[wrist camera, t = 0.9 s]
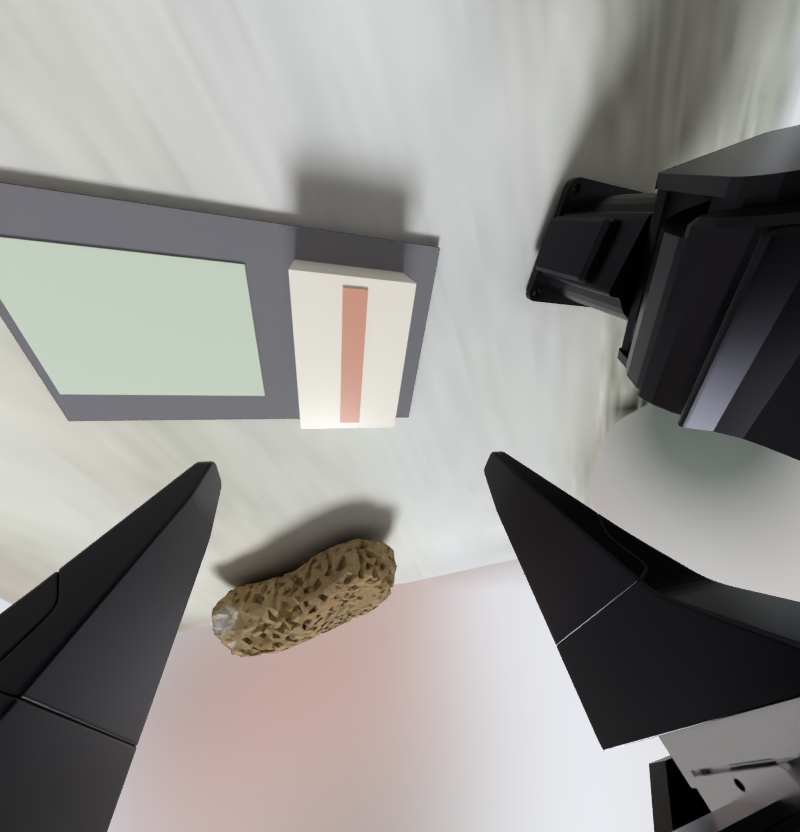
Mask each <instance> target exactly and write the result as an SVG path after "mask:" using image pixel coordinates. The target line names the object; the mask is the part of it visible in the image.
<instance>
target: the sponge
mask: <svg viewBox="0 0 800 832" xmlns="http://www.w3.org/2000/svg"><path fill="white" fill-rule="evenodd" d="M396 567H397V566H396V563H395V560H394V551H393V550H392V549H391V548H390V547H389V546H388V545H386V544H384V543H383V542H381V541H380V542H379V541H377V540H371V539H370V540H363V539H354V540H350V541H347V542H344V543H341V544H337V545H335V546H332V547H330V548H329V549H327V550H326V551H325V552H324V551H322V552H320V553H318V554H317V555H315V556H313V557H312V558H311V559H310V560H309V561H308V562H306V563H304V564H303V565H302V566H301V567H299V568H298V569H297V570H295V571H293V572H290V573H286V574H284V576H282V577H274V578H272V579H269V580H266V581H262V582H258V583H252V584H244V585H241V586H239V587H237V588H236V589H234V590H231V591H229V592H228V594H227V595H226V596H225V597H224V598H222V599H221V600H220V601H219V602H218V603H217V604H216V606H215V607H214V608H213V611H212V622H213V631H214V634H215V635H216V636H217V637H218V638H219V639H220V640H221V642H222V643H223V644H224V645H225V646H226V647H228V648H229V649H231V653H232V655H238V656H241V657H249V656H257V655H261V654H263V653H267V654H268V653H276V652H279V651H283V650H285V649H288V648H290V647H292V646H295V645H297V644H300V643H302V642H305V641H307V640H310V639H312V638H314V637H316V636H318V635H320V634H321V633H325V632H327V631H329V630H331V629H333V628H336V627H337V626H340V625H341V624H343V623H345V622H348V621H350V620H351V619H352V618H353V617H354V618H358V616H361V615H364V614H367V613H368V612H370V611H372V610H373V609H375V608H376V607H378V605H379V604H380V603H381V602H383V601H384V600H386V599H387V597H388V596H389V595H390V594H391V590H390V588H391V587H393V584H394V575H395V571H396Z"/></svg>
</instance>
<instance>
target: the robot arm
mask: <svg viewBox="0 0 800 832" xmlns="http://www.w3.org/2000/svg"><path fill="white" fill-rule="evenodd" d="M574 185H575V186H576V189H575V192H574V193H572V189H573V187H574ZM655 189H658V191H657V193H642V192H638V191H634V190H630V189H626V188H622V187H618V186H614V185H609V184H605V183H601V182H597V181H593V180H589V179H585V178H581V177H580V178H572V179H571V180H569V181H568V182H567V184H566V185H565V187H564V190H563V193H562V196H561V198H560V201H559V204H558V207H557V209H556V212H555V215H554V218H553V220H552V221H551V224H550V227H549V230H548V232H547V235H546V238H545V241H544V243H543V246H542V249H541V252H540V255H539V257H538V260H537V263H536V267H535V270H534V273H533V275H532V278H531V281H530V284H529V286H528V289H527V293H526V296H527V298H528V299H530V300H532V301H538V302H547V303H557V304H566V305H575V306H585V307H592V308H595V309H597V310H600V311H603V312H605V313H608V314H611V315H614V316H616V317H619V318H622V319H625V320H627V321H628V322H627V327H626V331H625V336H624V340H623V344H622V347H621V348H620V349H619V352H618V359H619V360H620V361H621V362H622V364H623V365H624V366H625V367H626V368H627V376H628V377H629V379H630V380H631V381H632V383H633V384H634V385H635V386H636V387H637V388H638V391H637V394H638V396H640V397H641V398H643V399H644V400H646V401H648V402H649V403H651V404H653V405H655V406H657V407H659V408H662V409H664V410H666V411H669V412H671V413H675V414H678V415H681V416H680V418H679V420H678V425H679V426H682V427H686V428H693V429H701V430H708V431H715V432H718V433H722V434H727V435H730V436H735V437H738V438H742V439H745V440H748V441H751V442H754V443H756V444H759V445H763V446H765V447H767V448H770V449H772V450H775V451H777V452H780V453H783V454H785V455H788V456H790V457H792V458H795V459H798V460H800V125H797V126H793V127H788V128H783V129H779V130H774V131H770V132H766V133H763V134H760V135H758V136H755V137H752V138H750V139H747V140H744V141H742V142H739V143H736V144H734V145H731V146H728V147H726V148H723V149H720V150H717V151H715V152H712V153H709V154H707V155H704V156H701V157H699V158H696V159H693V160H691V161H688V162H685V163H683V164H680V165H677V166H675V167H672V168H669V169H667V170H664V171H661V172H659V174H658V178H657V182H656V187H655ZM535 290H537V291H536V294H535V295H533V292H534V291H535ZM484 472H485V476H486V479H487V483H488V486H489V489H490V492H491V495H492V498H493V501H494V504H495V507H496V510H497V512H498V515H499V517H500V519H501V522H502V524H503V526H504V528H505V531H506V533H507V535H508V537H509V540H510V542H511V544H512V546H513V549H514V551H515V553H516V555H517V558H518V560H519V562H520V565H521V567H522V569H523V571H524V574H525V575H526V578H527V580H528V583H529V585H530V587H531V589H532V591H533V594H534V596H535V598H536V601H537V603H538V605H539V607H540V610H541V612H542V614H543V616H544V619H545V621H546V623H547V625H548V628H549V630H550V632H551V634H552V637H553V639H554V641H555V644H556V645H557V648H558V651H559V653H560V655H561V657H562V660H563V662H564V664H565V666H566V669H567V671H568V673H569V675H570V678H571V680H572V682H573V684H574V687H575V689H576V691H577V694H578V696H579V698H580V700H581V702H582V705H583V707H584V709H585V712H586V714H587V716H588V718H589V721H590V723H591V725H592V727H593V730H594V732H595V734H596V736H597V738H598V741H599V743H600V744H601V747H602V748H603V750H604V751H605V750H609V749H612V748H616V747H620V746H623V745H627V744H631V743H634V742H638V741H641V740H645V739H649V738H653V737H656V736H659V738H660V739H661V741H662V742H663V744H664V746H665V747H666V749H667V750H668V752H669V754H670V756H667V757H665V758H662V759H660V760H657V761H655V762H652V763H650V764H649V769H650V782H651V795H652V808H653V820H654V831H655V832H800V602H797V601H793V600H788V599H784V598H780V597H776V596H771V595H767V594H762V593H758V592H753V591H750V590H745V589H741V588H736V587H732V586H728V585H725V584H722V583H718V582H716V581H713V580H710V579H708V578H706V577H704V576H702V575H700V574H698V573H696V572H694V571H692V570H691V569H689V568H687V567H685V566H684V565H682V564H680V563H679V562H677V561H675V560H673V559H672V558H670V557H668V556H667V555H665V554H663V553H661V552H659V551H658V550H656V549H655V548H653V547H651V546H649V545H648V544H646V543H644V542H643V541H641V540H639V539H638V538H636V537H634V536H633V535H631V534H629V533H628V532H626V531H624V530H623V529H621V528H620V527H618V526H617V525H615V524H613V523H612V522H610V521H609V520H607V519H606V518H604V517H603V516H601V515H600V514H597V513H596V512H595V511H593V510H592V509H590V508H589V507H587V506H586V505H584V504H583V503H581V502H580V501H578V500H577V499H575V498H574V497H572V496H570V495H569V494H567V493H566V492H564V491H563V490H561V489H560V488H558V487H557V486H555V485H554V484H552V483H551V482H549V481H547V480H546V479H544V478H543V477H541V476H540V475H538V474H537V473H535V472H534V471H532V470H531V469H529V468H528V467H526V466H525V465H523V464H521V463H520V462H518V461H517V460H515V459H514V458H512V457H511V456H509V455H508V454H506V453H505V452H492V453H491V454H490V456H489V459H488V461H487V463H486V466H485V469H484ZM220 491H221V479H220V476H219V473H218V469H217V466H216V464H215V463H214V462H212V461H209V462H197V463H196V464H194V465H193V466H192V467H190V468H189V469H188V470H186V471H185V472H184V473H183V474H181V475H180V476H179V477H177V478H176V479H175V480H174V481H172V482H171V483H170V484H168V485H167V486H166V487H164V488H163V489H162V490H161V491H159V492H158V493H157V494H155V495H154V496H153V497H152V498H150V499H149V500H148V501H146V502H145V503H144V504H143V505H141V506H140V507H139V508H137V509H136V510H135V511H134V512H132V513H131V514H130V515H128V516H127V517H126V518H125V519H123V520H122V521H121V522H119V523H118V524H117V525H115V526H114V527H113V528H112V529H110V530H109V531H108V532H106V533H105V534H104V535H103V536H101V537H100V538H99V539H97V540H96V541H95V542H94V543H92V544H91V545H90V546H88V547H87V548H86V549H85V550H83V551H82V552H81V553H79V554H78V555H77V556H76V557H74V558H73V559H72V560H70V561H69V562H68V563H66V564H65V565H64V566H63V567H61V568H60V569H59V572H55V573H53V574H52V575H51V576H50V577H48V578H47V579H46V580H44V581H43V582H42V583H40V584H39V585H38V586H37V587H35V588H34V589H33V590H31V591H30V592H29V593H27V594H26V595H25V596H23V597H22V598H21V599H19V600H18V601H17V602H15V603H14V604H13V605H11V606H10V607H9V608H7V609H6V610H5V611H4V612H2V613H1V614H0V832H107V830H108V827H109V825H110V821H111V819H112V816H113V813H114V810H115V808H116V804H117V801H118V799H119V796H120V793H121V790H122V788H123V785H124V782H125V779H126V776H127V773H128V770H129V767H130V765H131V762H132V759H133V756H134V753H135V751H136V745H137V744H138V742H139V738H140V736H141V733H142V730H143V727H144V724H145V722H146V719H147V716H148V713H149V710H150V707H151V705H152V702H153V699H154V696H155V693H156V690H157V687H158V685H159V682H160V679H161V676H162V673H163V670H164V668H165V665H166V662H167V659H168V656H169V653H170V650H171V648H172V645H173V642H174V639H175V636H176V634H177V631H178V628H179V625H180V622H181V619H182V616H183V614H184V611H185V608H186V605H187V602H188V599H189V597H190V594H191V591H192V588H193V585H194V582H195V580H196V577H197V574H198V571H199V568H200V565H201V562H202V560H203V557H204V554H205V551H206V548H207V545H208V542H209V539H210V535H211V531H212V527H213V522H214V518H215V513H216V509H217V504H218V500H219V495H220Z"/></svg>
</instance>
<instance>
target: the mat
mask: <svg viewBox="0 0 800 832" xmlns="http://www.w3.org/2000/svg"><path fill="white" fill-rule="evenodd" d="M439 251H440V248H439V247H433V246H427V245H420V244H413V243H406V242H400V241H393V240H386V239H379V238H372V237H366V236H359V235H352V234H345V233H339V232H332V231H325V230H318V229H312V228H305V227H298V226H291V225H284V224H278V223H271V222H264V221H257V220H251V219H244V218H237V217H230V216H224V215H217V214H210V213H203V212H197V211H190V210H183V209H176V208H169V207H163V206H156V205H149V204H142V203H136V202H129V201H122V200H115V199H109V198H102V197H95V196H88V195H82V194H75V193H68V192H61V191H54V190H48V189H41V188H34V187H27V186H21V185H14V184H7V183H0V316H1V318H2V319H3V321H4V322H5V324H6V325H7V327H8V329H9V330H10V332H11V333H12V335H13V336H14V338H15V339H16V341H17V342H18V344H19V346H20V347H21V349H22V350H23V352H24V353H25V355H26V356H27V358H28V359H29V361H30V362H31V364H32V366H33V367H34V369H35V370H36V372H37V373H38V375H39V376H40V378H41V379H42V381H43V383H44V384H45V386H46V387H47V389H48V390H49V392H50V393H51V395H52V396H53V398H54V399H55V401H56V403H57V404H58V406H59V407H60V409H61V410H62V412H63V413H64V415H65V416H66V418H67V420H68V421H122V420H214V419H300V412H299V399H298V386H297V374H296V361H295V348H294V335H293V322H292V310H291V297H290V284H289V271H288V269H289V268H290V266H291V264H292V263H293V261H294V260H303V261H311V262H319V263H328V264H336V265H344V266H353V267H361V268H369V269H378V270H386V271H394V272H403V273H404V274H405V275H406V276H408V277H409V278H410V279H411V280H413V281H414V282H415V283H416V291H415V297H414V303H413V310H412V316H411V323H410V329H409V336H408V342H407V348H406V355H405V361H404V368H403V374H402V381H401V387H400V393H399V400H398V406H397V413H396V418H397V417H409V412H410V406H411V401H412V395H413V390H414V385H415V379H416V374H417V369H418V363H419V358H420V352H421V347H422V342H423V336H424V331H425V326H426V320H427V315H428V310H429V304H430V299H431V293H432V288H433V283H434V277H435V272H436V267H437V261H438V256H439Z"/></svg>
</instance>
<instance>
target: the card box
mask: <svg viewBox="0 0 800 832" xmlns="http://www.w3.org/2000/svg"><path fill="white" fill-rule="evenodd" d="M288 271H289V284H290V297H291V310H292V322H293V335H294V348H295V361H296V374H297V386H298V399H299V412H300V425H301V429H321V428H372V427H394V426H395V419H396V413H397V406H398V400H399V393H400V387H401V381H402V374H403V368H404V361H405V355H406V348H407V342H408V336H409V329H410V323H411V316H412V310H413V303H414V297H415V291H416V283H415V282H414V281H413V280H411V279H410V278H409V277H408V276H406V275H405V274H404V273H403V272H394V271H386V270H378V269H369V268H361V267H353V266H344V265H336V264H328V263H319V262H311V261H303V260H294V261H293V263H292V264H291V266H290V268H289V269H288Z"/></svg>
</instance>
